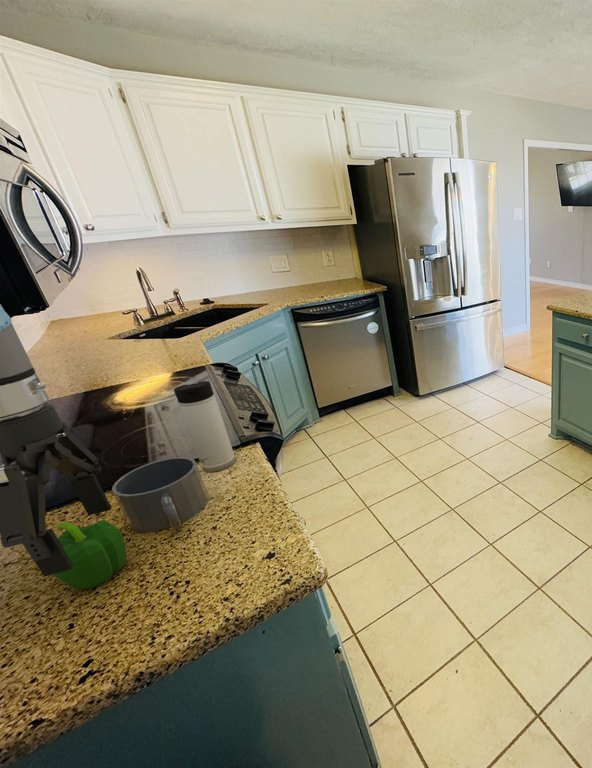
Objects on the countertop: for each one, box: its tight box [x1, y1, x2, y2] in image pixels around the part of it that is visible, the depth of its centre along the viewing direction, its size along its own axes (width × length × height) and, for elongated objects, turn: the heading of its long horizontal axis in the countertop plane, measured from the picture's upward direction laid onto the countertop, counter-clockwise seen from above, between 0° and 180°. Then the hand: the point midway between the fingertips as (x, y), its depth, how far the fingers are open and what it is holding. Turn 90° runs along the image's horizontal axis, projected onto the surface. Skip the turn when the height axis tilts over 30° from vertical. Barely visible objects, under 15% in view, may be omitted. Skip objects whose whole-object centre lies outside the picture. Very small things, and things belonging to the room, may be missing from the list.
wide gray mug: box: [111, 456, 210, 533], centre depth 75 cm, size 16×12×8 cm
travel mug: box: [173, 380, 236, 473], centre depth 88 cm, size 6×7×20 cm
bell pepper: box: [52, 519, 127, 591], centre depth 62 cm, size 8×8×10 cm
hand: (81, 538), depth 61 cm, fingers open, 13 cm apart
